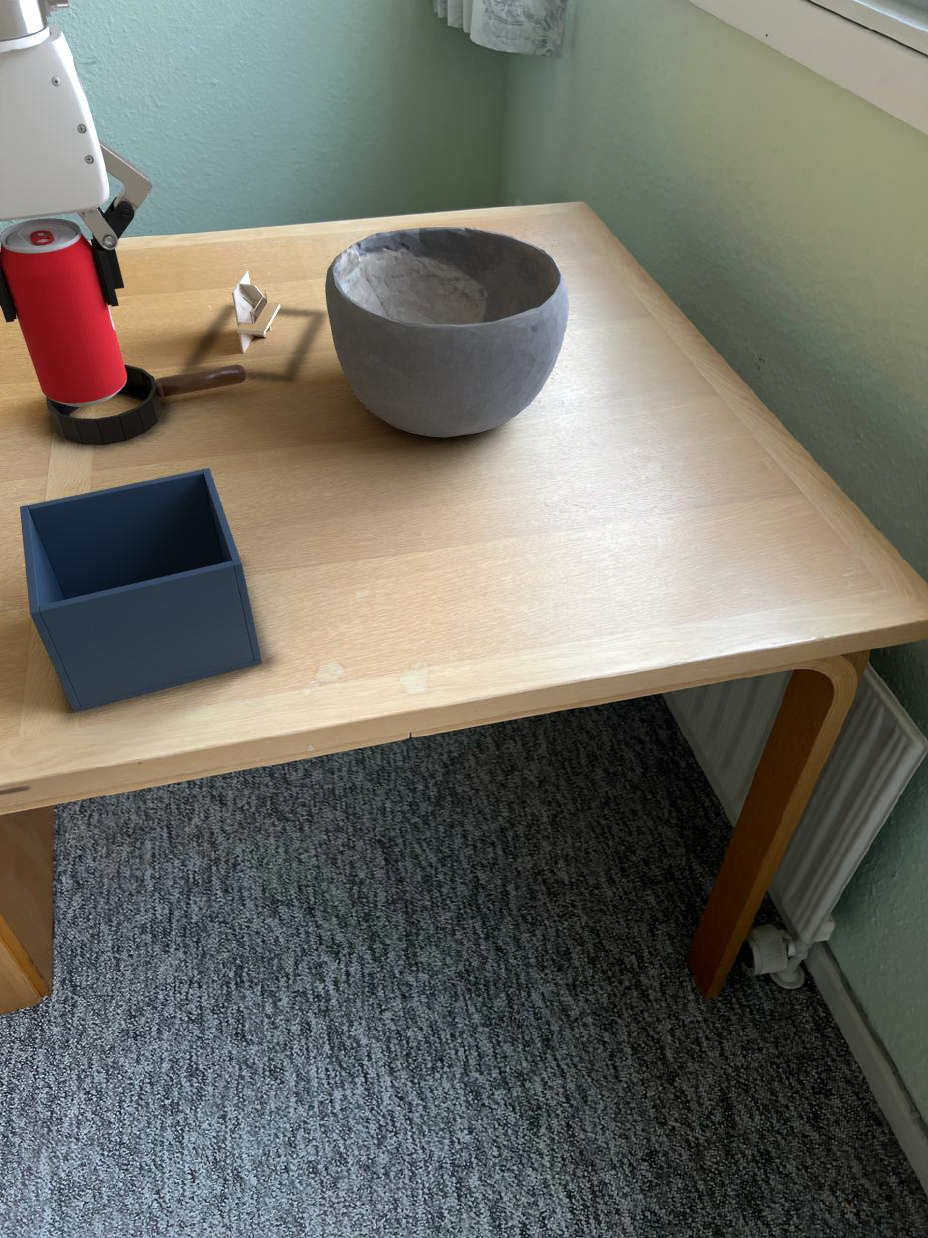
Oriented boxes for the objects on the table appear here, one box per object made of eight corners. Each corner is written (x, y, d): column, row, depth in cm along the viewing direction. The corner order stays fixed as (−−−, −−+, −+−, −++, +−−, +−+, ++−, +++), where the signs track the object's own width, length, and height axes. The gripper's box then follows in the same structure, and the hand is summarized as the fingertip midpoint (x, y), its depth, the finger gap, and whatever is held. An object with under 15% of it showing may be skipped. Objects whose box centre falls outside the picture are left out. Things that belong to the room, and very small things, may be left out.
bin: (74, 714, 69) (29, 613, 61) (60, 606, 77) (19, 506, 69) (262, 664, 73) (242, 563, 65) (231, 566, 80) (209, 467, 73)
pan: (59, 454, 92) (49, 427, 89) (51, 399, 99) (42, 372, 96) (261, 415, 97) (256, 389, 95) (239, 366, 104) (235, 340, 102)
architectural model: (284, 332, 110) (276, 271, 105) (268, 361, 105) (259, 299, 100) (256, 330, 110) (246, 269, 105) (238, 359, 105) (228, 297, 100)
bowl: (385, 332, 110) (380, 203, 100) (583, 370, 105) (599, 239, 94) (291, 441, 94) (272, 302, 83) (519, 494, 89) (530, 352, 78)
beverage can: (119, 363, 73) (79, 209, 65) (137, 401, 70) (97, 242, 61) (37, 380, 71) (-15, 222, 63) (51, 420, 67) (-2, 258, 59)
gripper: (119, -13, 58) (175, 267, 71) (-191, 3, 53) (-72, 301, 66) (138, 14, 53) (194, 310, 66) (-202, 35, 48) (-71, 351, 61)
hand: (61, 303), depth 65 cm, fingers closed on beverage can, 6 cm apart
